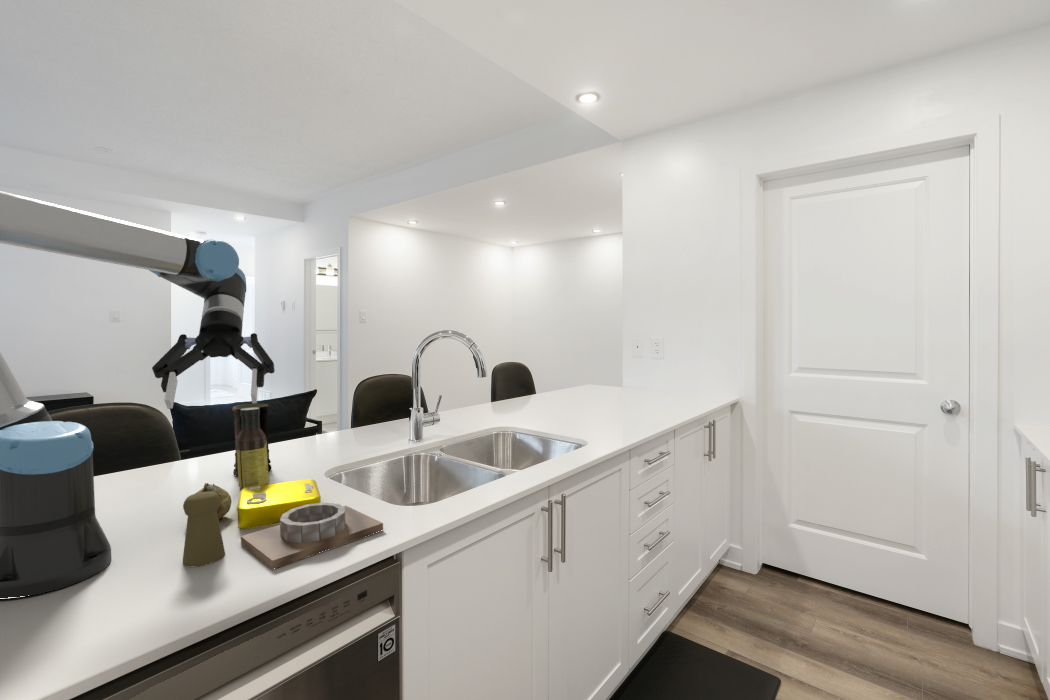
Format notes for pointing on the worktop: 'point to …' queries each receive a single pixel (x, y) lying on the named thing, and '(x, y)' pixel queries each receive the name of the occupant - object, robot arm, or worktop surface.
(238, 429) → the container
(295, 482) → the element tile
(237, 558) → the worktop surface
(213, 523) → the cork
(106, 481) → the worktop surface
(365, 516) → the ring stand
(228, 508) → the onion
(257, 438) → the sauce bottle
